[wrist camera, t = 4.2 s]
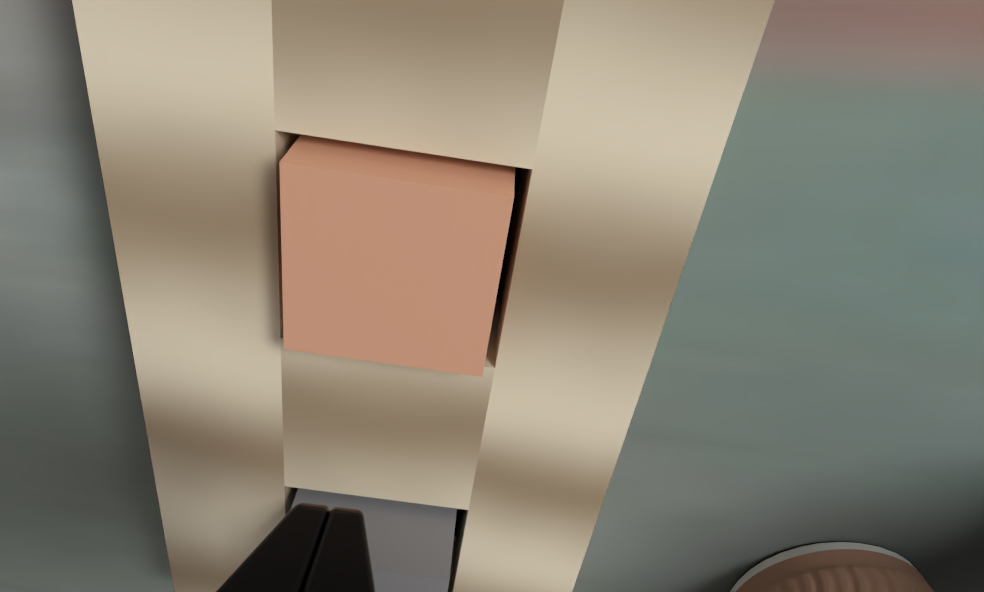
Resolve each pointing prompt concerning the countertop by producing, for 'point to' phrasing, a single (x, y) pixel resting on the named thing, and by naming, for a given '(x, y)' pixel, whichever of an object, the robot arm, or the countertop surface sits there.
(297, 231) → the terracotta key
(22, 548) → the countertop surface
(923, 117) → the countertop surface
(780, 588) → the coffee cup
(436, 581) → the charcoal key
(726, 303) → the countertop surface
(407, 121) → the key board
